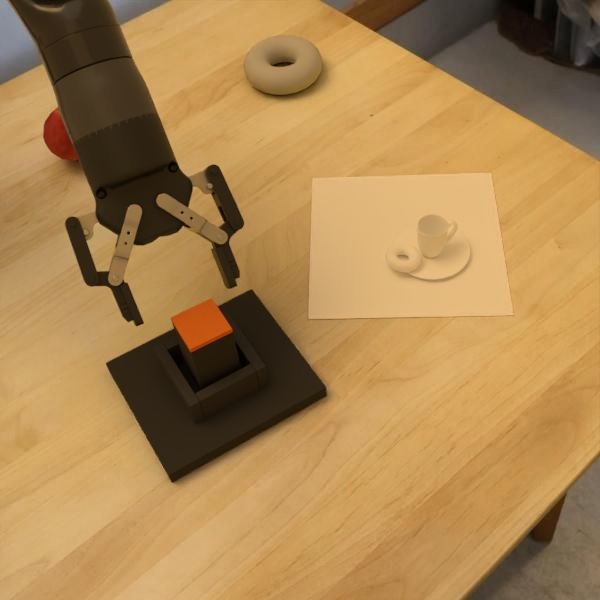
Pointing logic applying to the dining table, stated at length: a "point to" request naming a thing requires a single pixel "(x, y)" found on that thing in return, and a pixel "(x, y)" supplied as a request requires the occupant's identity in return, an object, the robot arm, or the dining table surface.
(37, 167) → the dining table surface
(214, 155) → the dining table surface
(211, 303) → the pad block
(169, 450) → the base pad
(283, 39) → the donut
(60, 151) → the pomegranate
